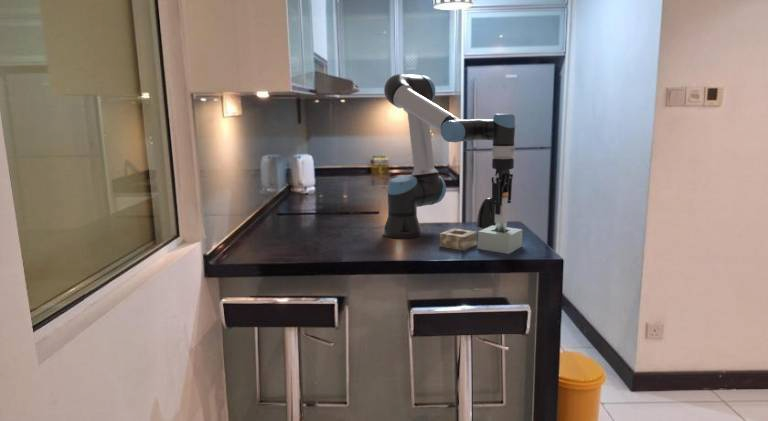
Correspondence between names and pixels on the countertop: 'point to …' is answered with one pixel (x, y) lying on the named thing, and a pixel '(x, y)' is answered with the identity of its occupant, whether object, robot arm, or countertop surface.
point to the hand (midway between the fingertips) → (501, 221)
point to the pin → (503, 226)
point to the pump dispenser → (486, 215)
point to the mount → (458, 239)
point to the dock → (500, 240)
